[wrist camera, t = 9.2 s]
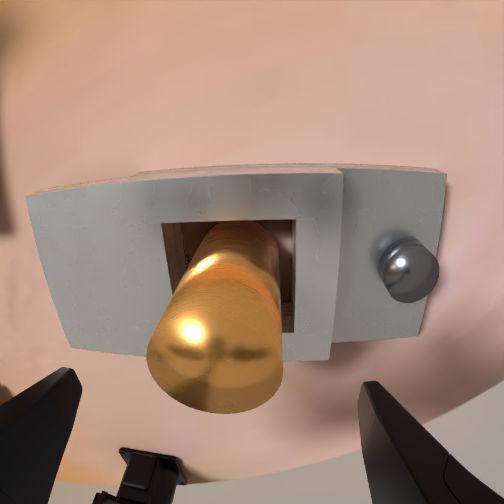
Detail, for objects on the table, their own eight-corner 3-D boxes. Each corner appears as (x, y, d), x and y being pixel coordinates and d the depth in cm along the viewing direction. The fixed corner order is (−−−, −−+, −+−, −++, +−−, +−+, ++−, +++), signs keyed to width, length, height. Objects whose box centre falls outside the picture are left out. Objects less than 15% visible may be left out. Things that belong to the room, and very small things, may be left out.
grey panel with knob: (409, 322, 19) (425, 350, 16) (89, 322, 21) (71, 347, 18) (433, 168, 15) (461, 179, 12) (55, 183, 17) (25, 196, 14)
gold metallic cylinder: (279, 290, 19) (281, 414, 10) (204, 291, 19) (162, 408, 11) (278, 217, 17) (283, 315, 9) (195, 219, 17) (132, 313, 9)
